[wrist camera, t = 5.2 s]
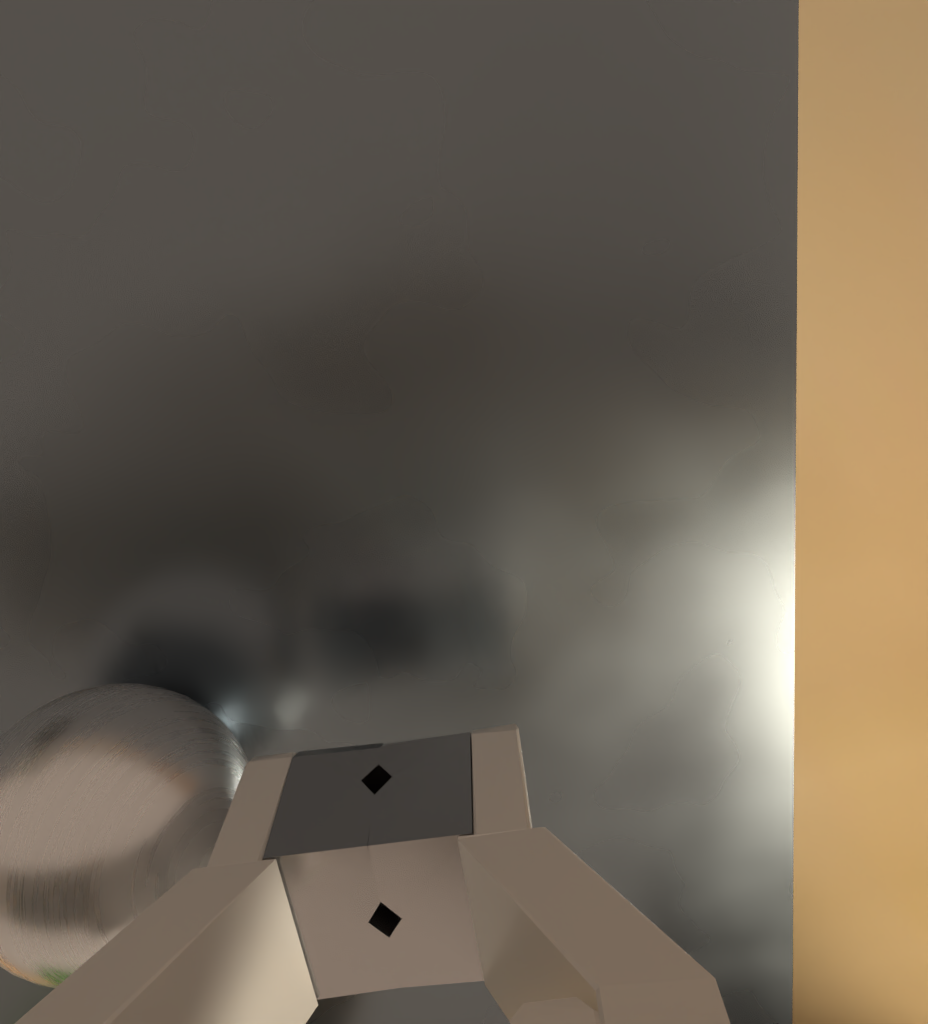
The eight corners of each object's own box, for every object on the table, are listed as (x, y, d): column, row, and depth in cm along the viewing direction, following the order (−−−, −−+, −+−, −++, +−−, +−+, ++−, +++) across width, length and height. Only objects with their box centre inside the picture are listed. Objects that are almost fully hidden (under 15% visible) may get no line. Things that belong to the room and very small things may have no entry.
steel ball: (19, 860, 6) (-169, 773, 8) (135, 1116, 8) (-51, 996, 9) (279, 652, 9) (98, 618, 11) (336, 868, 10) (164, 808, 12)
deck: (714, -115, 9) (799, -221, 7) (742, 982, 16) (791, 1117, 13) (-989, 177, 10) (-1413, 169, 8) (-309, 1095, 17) (-434, 1239, 14)
